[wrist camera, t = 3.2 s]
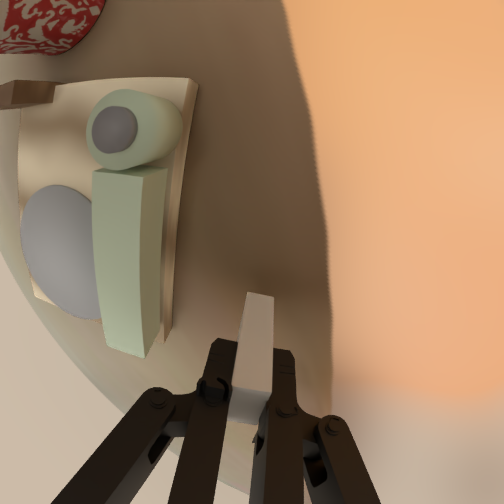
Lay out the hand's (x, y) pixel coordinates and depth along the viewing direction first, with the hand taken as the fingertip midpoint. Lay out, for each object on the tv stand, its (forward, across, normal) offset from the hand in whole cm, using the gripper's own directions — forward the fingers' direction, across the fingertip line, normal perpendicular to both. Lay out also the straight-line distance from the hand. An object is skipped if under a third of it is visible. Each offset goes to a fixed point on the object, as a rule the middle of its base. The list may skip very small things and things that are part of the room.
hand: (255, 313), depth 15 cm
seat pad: (+2, -14, -1) cm, 15 cm away
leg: (+1, -8, +3) cm, 8 cm away
